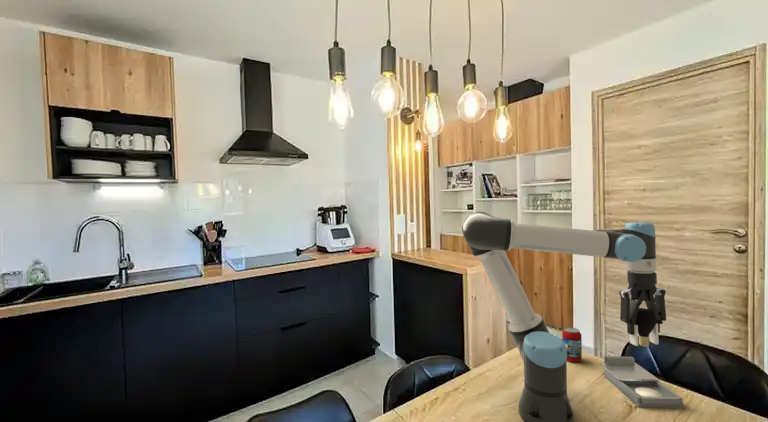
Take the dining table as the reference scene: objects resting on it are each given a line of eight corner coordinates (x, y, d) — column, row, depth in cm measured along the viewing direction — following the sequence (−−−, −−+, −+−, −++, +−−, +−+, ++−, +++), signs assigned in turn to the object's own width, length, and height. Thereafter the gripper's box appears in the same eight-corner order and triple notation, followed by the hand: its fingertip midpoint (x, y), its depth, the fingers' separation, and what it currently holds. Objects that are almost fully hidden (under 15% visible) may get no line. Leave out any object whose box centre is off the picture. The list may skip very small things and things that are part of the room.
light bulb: (641, 351, 109) (639, 312, 109) (626, 342, 116) (625, 306, 115) (662, 350, 109) (661, 311, 108) (646, 341, 115) (645, 305, 115)
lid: (619, 380, 118) (619, 371, 118) (599, 364, 130) (599, 355, 130) (658, 381, 117) (658, 371, 117) (635, 364, 129) (635, 356, 129)
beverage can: (564, 362, 138) (564, 332, 138) (561, 355, 145) (560, 326, 144) (583, 364, 136) (583, 333, 136) (579, 356, 143) (579, 327, 142)
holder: (638, 407, 108) (638, 398, 108) (604, 377, 126) (604, 369, 126) (683, 407, 107) (683, 398, 107) (642, 377, 125) (642, 369, 125)
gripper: (621, 275, 107) (623, 350, 108) (680, 271, 108) (683, 346, 109) (604, 270, 115) (607, 341, 115) (660, 267, 116) (662, 337, 116)
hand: (643, 343), depth 112 cm, fingers closed on light bulb, 6 cm apart
